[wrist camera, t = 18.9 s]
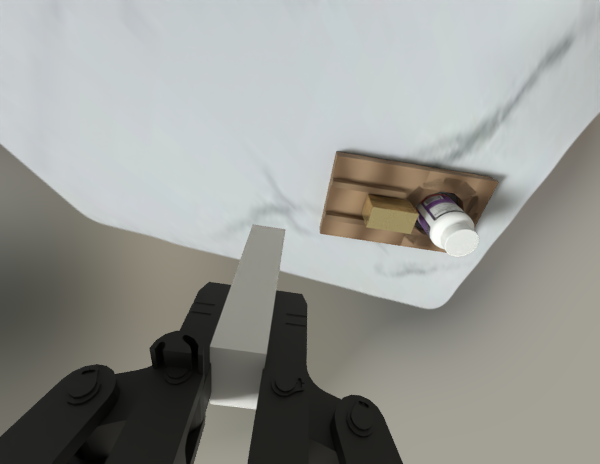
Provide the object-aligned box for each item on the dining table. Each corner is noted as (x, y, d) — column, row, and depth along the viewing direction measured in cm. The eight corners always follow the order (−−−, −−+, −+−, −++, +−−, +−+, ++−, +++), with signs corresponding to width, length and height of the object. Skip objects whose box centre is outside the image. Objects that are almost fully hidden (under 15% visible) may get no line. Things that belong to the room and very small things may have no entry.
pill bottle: (440, 227, 45) (469, 266, 37) (407, 219, 45) (430, 256, 36) (458, 196, 42) (495, 230, 34) (424, 187, 42) (453, 219, 33)
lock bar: (361, 213, 42) (366, 227, 38) (367, 194, 40) (372, 206, 37) (402, 219, 42) (410, 234, 39) (409, 201, 40) (418, 214, 37)
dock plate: (319, 227, 46) (320, 237, 43) (336, 151, 40) (338, 158, 37) (454, 247, 47) (463, 259, 44) (490, 176, 41) (503, 185, 38)
